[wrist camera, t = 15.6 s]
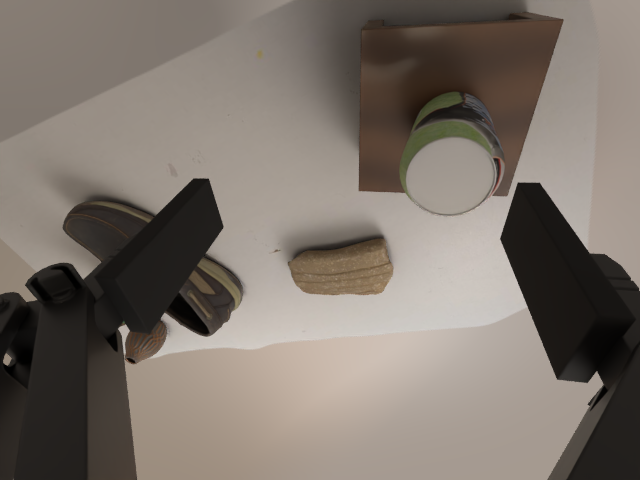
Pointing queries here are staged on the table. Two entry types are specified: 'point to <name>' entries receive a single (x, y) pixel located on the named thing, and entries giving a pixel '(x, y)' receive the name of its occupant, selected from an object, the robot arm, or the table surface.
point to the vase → (144, 343)
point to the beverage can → (452, 156)
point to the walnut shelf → (448, 84)
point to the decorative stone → (344, 269)
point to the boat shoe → (198, 291)
